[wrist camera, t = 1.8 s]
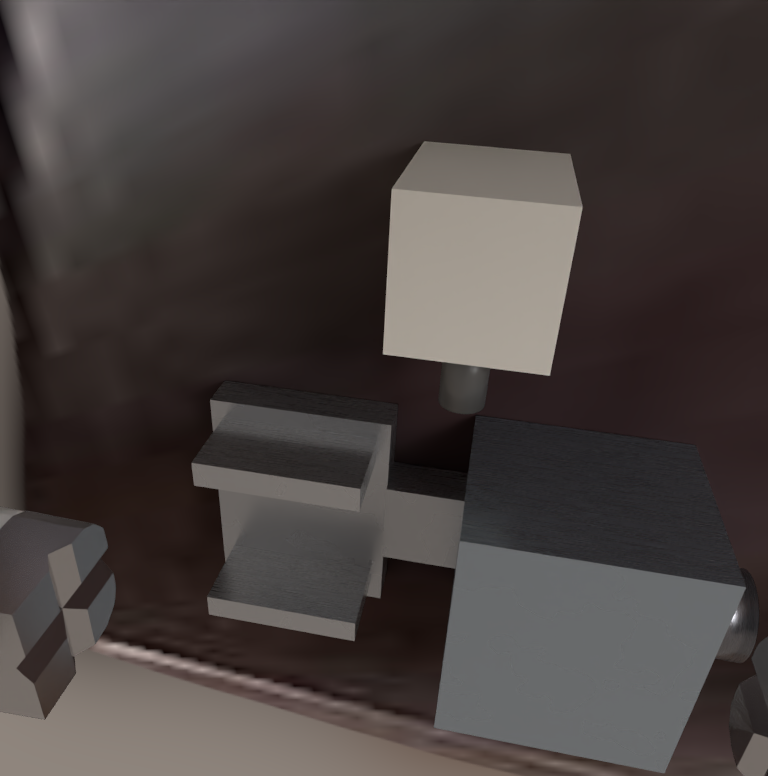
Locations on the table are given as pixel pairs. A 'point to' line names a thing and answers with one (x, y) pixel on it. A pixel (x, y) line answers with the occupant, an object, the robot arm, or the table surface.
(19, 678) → the robot arm
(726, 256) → the table surface
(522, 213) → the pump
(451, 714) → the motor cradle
